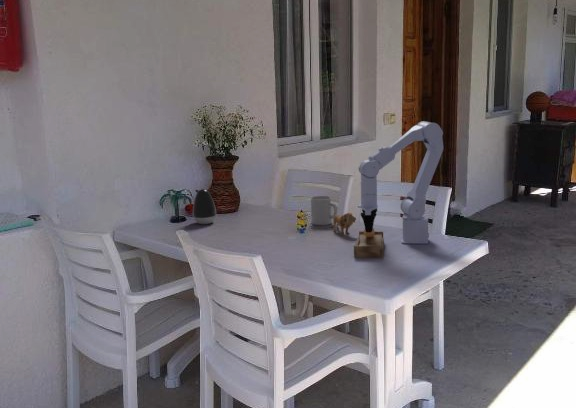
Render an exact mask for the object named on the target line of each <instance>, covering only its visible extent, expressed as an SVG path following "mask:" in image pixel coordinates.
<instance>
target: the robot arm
mask: <svg viewBox="0 0 576 408" xmlns="http://www.w3.org/2000/svg"><path fill="white" fill-rule="evenodd" d="M443 135H444V131H443V130H442V128H441V127H440V125H439V124H438V123H436V122H430V121H426V120H423V121H420V122H418V123H417V124H416V125H413V126H412V127H411V128H410V129H409V130H408V131H407V132H405V133H404V134H403V135H402V136H400V137H399V138H398V139H397V140H396V141H394V143H392V144H391V145H390V146H383V147H382V146H380V147H379V148H378V151H377V152H375V153H374V154H373V155H369V156H368V157H367V159H365V160H362V162H360V164H359V166H358V172H359V173H360V201H361V203H360V204H358V205H357V208H358V209H361V212H360V216H361V218H362V222H363V224H364V229H365V230H366V232H372V229H374V223H375V219H376V217H377V212H378V207H379V206H378V180H377V179H378V178H377V176H378V175H379V173H380V170H382V169H383V168H384V167H385V166H387V165H388V164H391V162H392V161H394V160H395V157H396V154H398V153H399V152H401V151H402V150H403V149H405V148H406V147H407V146H409V145H410V144H412V143H413V142H423V144H424V146H425V148H426V152H425V155H424V157H423V160H422V163H421V165H420V168H419V169H418V173H417V175H416V177H415V181H414V182H413V185H412V187H411V190H410V191H409V192H408V193H407V194H406V195H405V198H403V200H402V201H401V203H400V210H401V212H402V213H403V214H402V236H401V244H413V245H414V244H415V245H417V244H418V245H419V244H420V245H421V244H422V245H424V244H426V245H427V244H429V238H430V233H429V218H428V217H424V214H425V213H426V203H427V198H426V195H427V192H428V190H429V188H430V187H429V186H430V184H431V183H432V180H433V176H434V174H435V172H436V169H437V167H438V164H439V162H440V159H441V156H442V155H443V154H442V153H443V152H444V141H443Z"/></svg>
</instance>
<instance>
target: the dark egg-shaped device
mask: <svg viewBox="0 0 576 408" xmlns="http://www.w3.org/2000/svg"><path fill="white" fill-rule="evenodd" d="M195 192H196V194H195V198H194V200H193V206H192V217H193V219H194V221H195V222H196V223H197V224H199V225H210V224H211V223H212V224H213V222H214V221H215V219H216V216H217V209H216V205H215V202H214V200H213V197H212V195H211V193H210V192H209V190H207V189H205V188H201V189H195Z"/></svg>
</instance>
